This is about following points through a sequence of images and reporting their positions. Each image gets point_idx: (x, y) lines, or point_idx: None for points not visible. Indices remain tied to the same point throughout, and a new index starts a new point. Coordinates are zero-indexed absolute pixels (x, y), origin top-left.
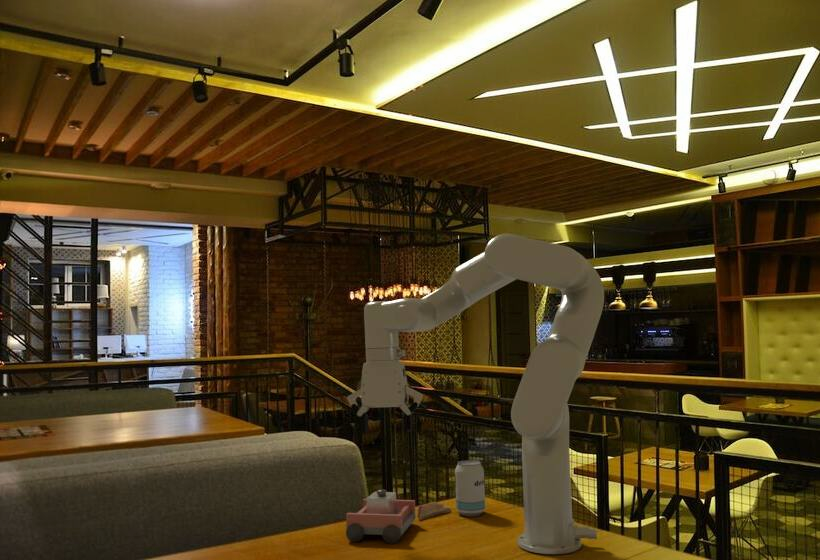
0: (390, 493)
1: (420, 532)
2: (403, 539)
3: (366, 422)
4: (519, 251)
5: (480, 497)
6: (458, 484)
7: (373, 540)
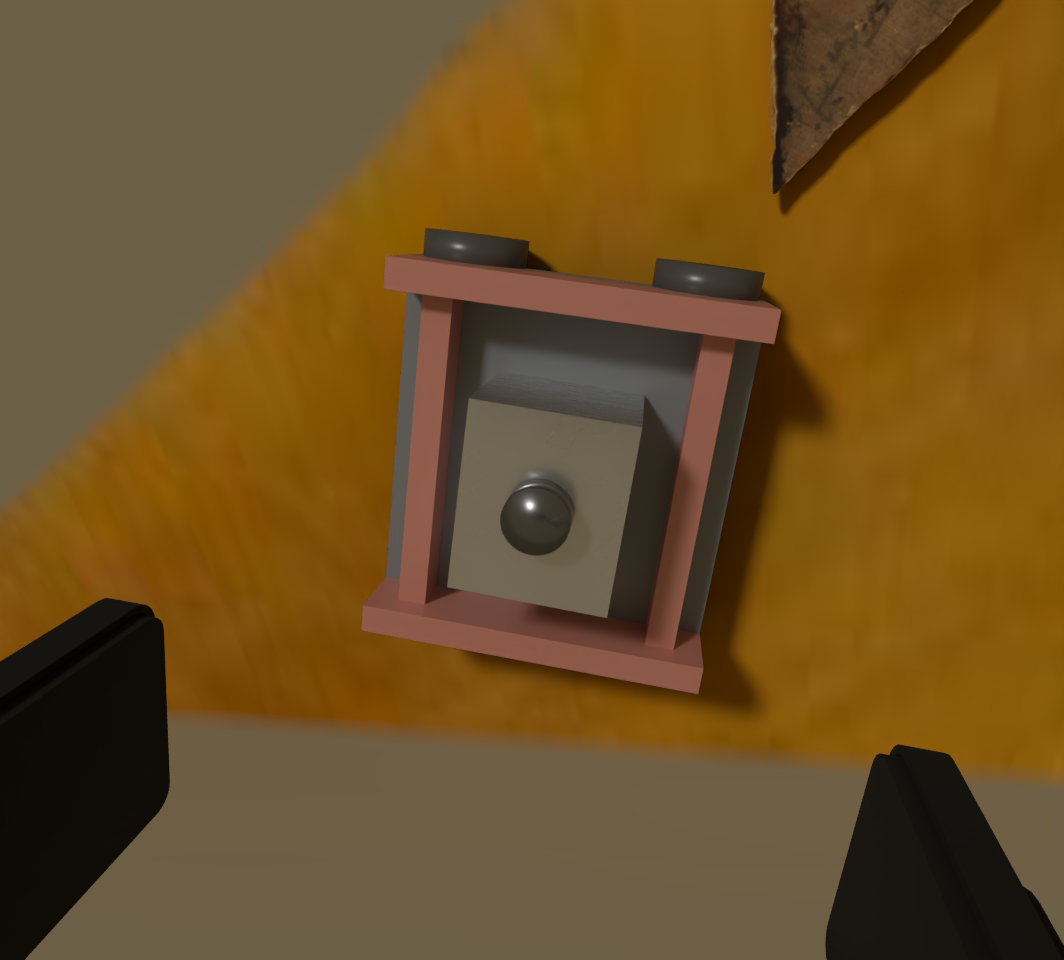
0: (601, 460)
1: (790, 445)
2: None
3: (33, 825)
4: None
5: None
6: None
7: None
